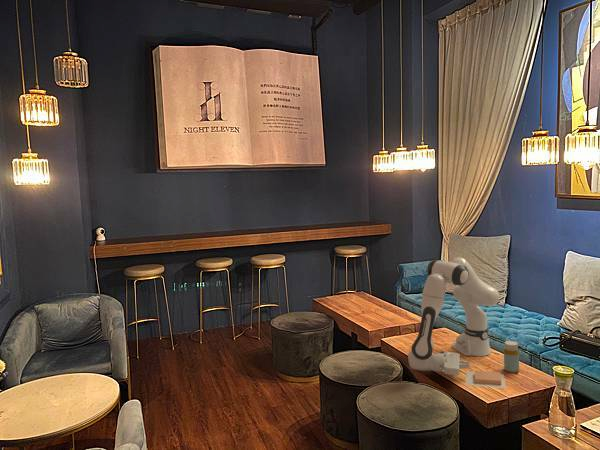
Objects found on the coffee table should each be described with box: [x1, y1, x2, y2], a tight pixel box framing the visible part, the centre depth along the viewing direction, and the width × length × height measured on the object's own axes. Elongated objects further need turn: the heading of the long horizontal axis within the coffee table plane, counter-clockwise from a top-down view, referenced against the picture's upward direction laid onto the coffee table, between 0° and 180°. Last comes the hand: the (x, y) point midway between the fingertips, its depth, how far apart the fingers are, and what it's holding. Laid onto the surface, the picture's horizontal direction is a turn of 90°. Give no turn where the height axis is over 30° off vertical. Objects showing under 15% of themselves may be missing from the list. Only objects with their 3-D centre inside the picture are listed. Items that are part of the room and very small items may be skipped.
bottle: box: [503, 340, 520, 374], centre depth 246 cm, size 7×7×15 cm
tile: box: [474, 369, 501, 385], centre depth 239 cm, size 2×10×12 cm
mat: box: [465, 370, 507, 389], centre depth 239 cm, size 18×16×1 cm
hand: (469, 364), depth 240 cm, fingers closed
